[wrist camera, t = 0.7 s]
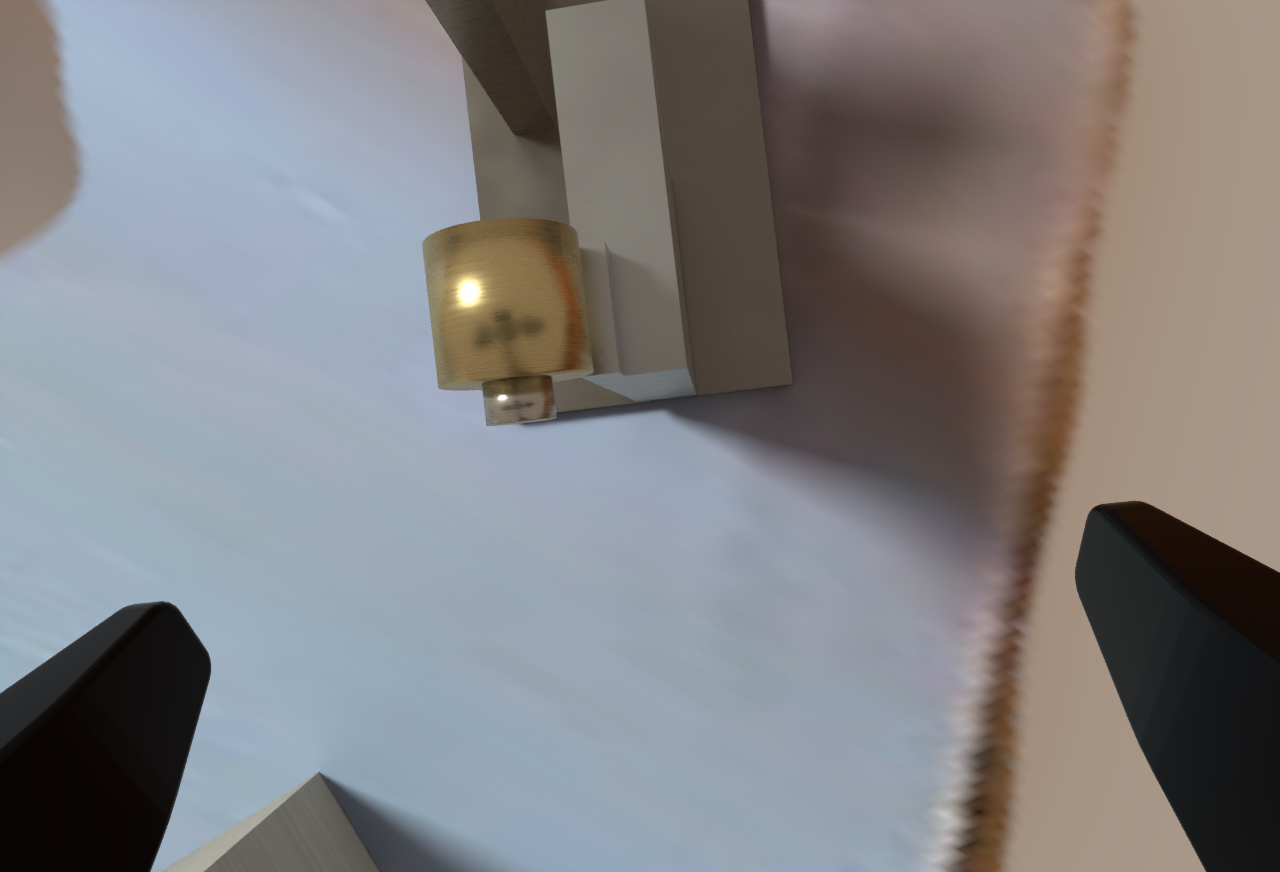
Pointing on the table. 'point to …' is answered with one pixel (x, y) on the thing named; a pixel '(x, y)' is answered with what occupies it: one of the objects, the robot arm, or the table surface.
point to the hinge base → (698, 157)
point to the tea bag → (286, 838)
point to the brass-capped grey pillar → (575, 245)
